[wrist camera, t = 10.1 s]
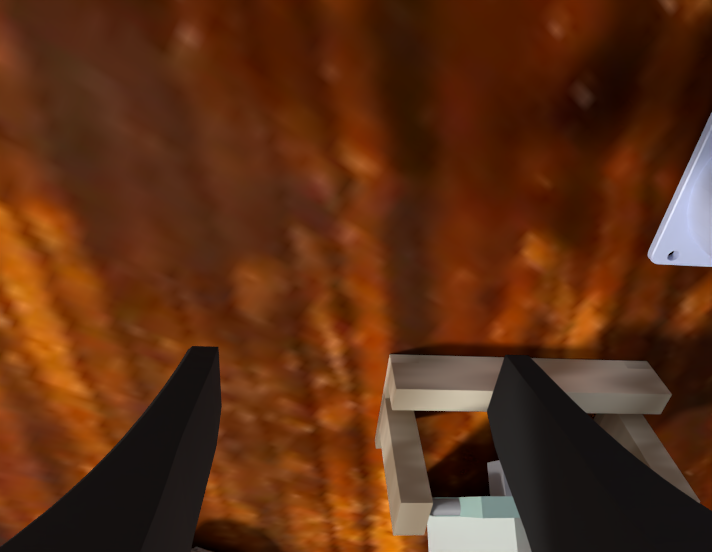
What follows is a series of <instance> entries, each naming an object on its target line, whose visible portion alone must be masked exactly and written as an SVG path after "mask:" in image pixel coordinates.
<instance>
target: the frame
mask: <svg viewBox="0 0 712 552" xmlns="http://www.w3.org/2000/svg"><path fill="white" fill-rule="evenodd" d="M531 359H532V360H533V361H534V362H536V363H537V364H538V365H539V366H540V367H541V368H542V369H543V370H544V372H545V373H546V374H547V375H548V376H549V377H550V378H551V379H552V380H553V381H554V382H555V383H556V384H557V385H558V386H559V387H560V388H561V389H562V390H563V391H564V392H565V393H566V394H567V395H568V396H569V397H570V398H571V399H572V400H573V401H574V402H575V403H576V404H577V405H578V406H579V407H580V408H581V409H582V410H584V411H585V412H586V413H596V415H595V417H594V419H593V420H594V421H595V422H596V423H597V424H598V425H599V426H601V427H602V428H603V429H604V430H605V431H606V432H607V433H608V434H610V435H611V436H612V437H613V438H614V439H615V440H616V441H618V442H619V443H620V444H621V445H622V446H623V447H624V448H626V449H627V450H628V451H629V452H630V453H632V454H633V455H634V456H635V457H637V458H638V459H639V460H640V461H642V462H643V463H644V464H646V465H647V466H648V467H649V468H651V469H652V470H653V471H655V472H656V473H657V474H659V475H660V476H661V477H663V478H664V479H665V480H667V481H668V482H669V483H671V484H672V485H674V486H675V487H676V488H678V489H679V490H681V491H682V492H684V493H685V494H687V495H688V496H690V497H691V498H693V499H694V500H696V501H697V502H699V503H700V501H699V499H698V498H697V496H696V495H695V493H694V491H693V490H692V488H691V487H690V485H689V484H688V482H687V481H686V479H685V478H684V476H683V475H682V473H681V472H680V470H679V469H678V467H677V466H676V464H675V463H674V461H673V460H672V458H671V457H670V455H669V454H668V452H667V451H666V449H665V448H664V446H663V445H662V443H661V442H660V440H659V439H658V437H657V436H656V434H655V433H654V431H653V430H652V428H651V427H650V425H649V424H648V422H647V421H646V419H645V418H644V416H643V415H642V414H661V413H662V411H663V409H664V407H665V406H666V404H667V402H668V401H669V399H670V397H671V395H672V394H671V392H670V391H669V390H668V388H667V387H666V386H665V384H664V383H663V382H662V380H661V379H660V378H659V377H658V375H657V374H656V373H655V371H654V370H653V369H652V367H651V366H650V365H649V363H648V362H647V361H621V360H584V359H546V358H531ZM503 360H504V357H472V356H435V355H398V354H390V356H389V362H388V367H387V373H386V379H385V385H384V390H383V396H382V402H381V408H380V413H379V419H378V425H377V431H376V436H375V444H376V448H382V455H383V462H384V469H385V477H386V484H387V492H388V499H389V507H390V514H391V522H392V529H393V535H424V533H425V529H426V526H427V522H428V519H429V515H430V512H431V508H432V505H433V500H432V495H431V491H430V486H429V481H428V476H427V471H426V467H425V462H424V457H423V452H422V447H421V443H420V438H419V433H418V428H417V423H416V419H415V414H414V410H417V411H483V412H487V409H488V406H489V403H490V400H491V397H492V394H493V391H494V388H495V385H496V381H497V378H498V375H499V372H500V369H501V366H502V363H503Z"/></svg>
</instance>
